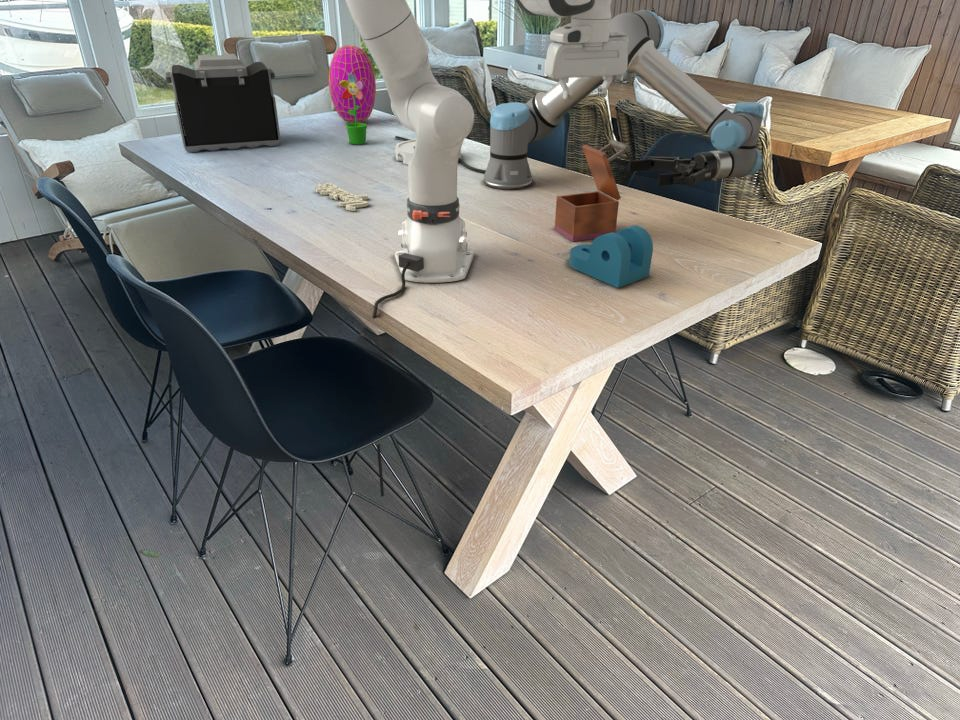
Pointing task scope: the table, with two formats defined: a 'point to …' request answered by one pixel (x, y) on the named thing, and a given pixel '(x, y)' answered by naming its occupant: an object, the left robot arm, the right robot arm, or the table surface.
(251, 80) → the electronic device
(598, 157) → the lid
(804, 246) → the table surface
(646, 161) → the right robot arm
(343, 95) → the potted flower
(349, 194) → the decorative sign
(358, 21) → the left robot arm
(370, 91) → the decorative egg
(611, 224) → the chest
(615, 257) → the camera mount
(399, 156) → the ashtray
